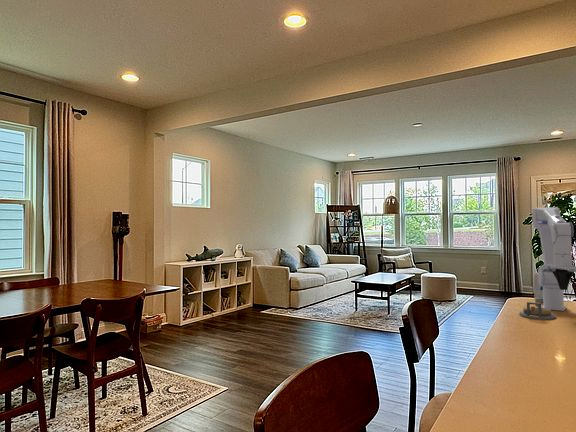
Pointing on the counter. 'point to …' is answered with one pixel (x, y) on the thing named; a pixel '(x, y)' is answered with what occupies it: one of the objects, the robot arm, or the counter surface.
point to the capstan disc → (537, 309)
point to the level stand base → (540, 316)
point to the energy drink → (537, 288)
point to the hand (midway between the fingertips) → (563, 289)
